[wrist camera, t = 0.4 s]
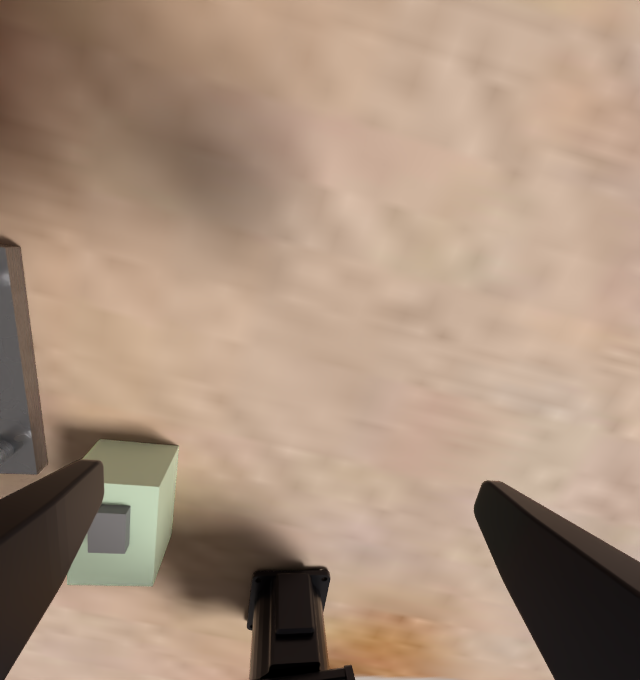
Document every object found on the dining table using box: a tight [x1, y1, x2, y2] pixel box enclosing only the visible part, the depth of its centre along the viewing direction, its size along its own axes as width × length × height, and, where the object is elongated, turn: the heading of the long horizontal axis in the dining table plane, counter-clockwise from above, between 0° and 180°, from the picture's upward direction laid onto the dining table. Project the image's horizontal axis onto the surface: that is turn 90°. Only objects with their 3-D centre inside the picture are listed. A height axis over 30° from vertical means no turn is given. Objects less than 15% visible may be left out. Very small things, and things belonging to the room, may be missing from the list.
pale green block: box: [67, 439, 179, 586], centre depth 21 cm, size 8×5×5 cm, turn 168°
